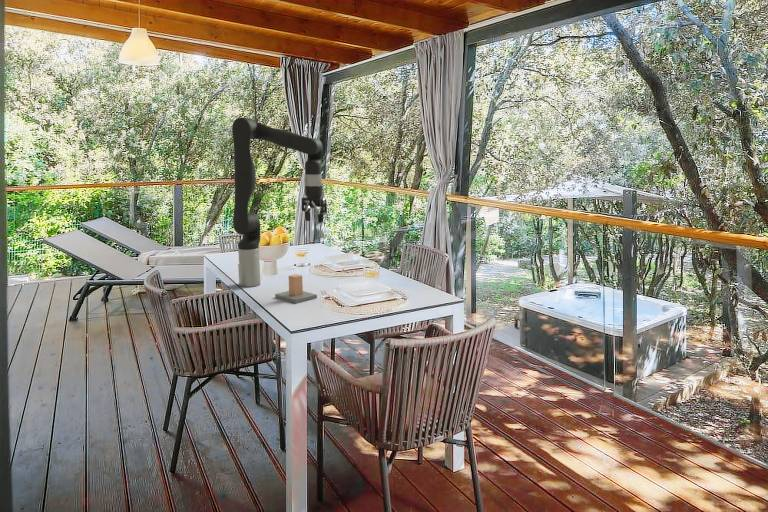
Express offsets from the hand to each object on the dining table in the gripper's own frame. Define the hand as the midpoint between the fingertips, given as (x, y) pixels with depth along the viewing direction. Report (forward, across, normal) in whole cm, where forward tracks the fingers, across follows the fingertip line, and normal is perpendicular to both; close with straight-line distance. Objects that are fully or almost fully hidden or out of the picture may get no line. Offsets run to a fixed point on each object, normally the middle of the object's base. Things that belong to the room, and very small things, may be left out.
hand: (314, 221), depth 241 cm
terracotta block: (+28, +7, -17) cm, 34 cm away
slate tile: (+30, +7, -17) cm, 35 cm away
